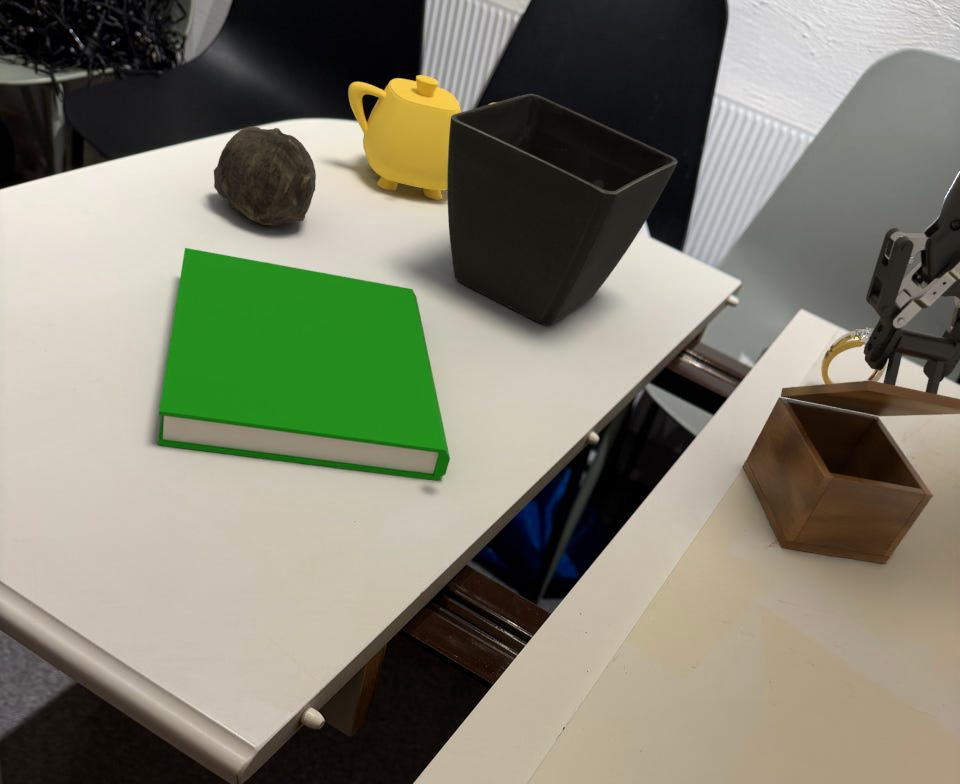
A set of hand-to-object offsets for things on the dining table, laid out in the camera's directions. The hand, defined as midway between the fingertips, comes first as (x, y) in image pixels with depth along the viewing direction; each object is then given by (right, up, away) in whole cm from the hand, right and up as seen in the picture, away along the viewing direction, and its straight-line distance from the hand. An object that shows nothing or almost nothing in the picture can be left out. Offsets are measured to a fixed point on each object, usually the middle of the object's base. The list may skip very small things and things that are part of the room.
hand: (901, 370), depth 81 cm
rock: (-60, +25, +27) cm, 70 cm away
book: (-51, +1, +6) cm, 51 cm away
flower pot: (-30, +17, +31) cm, 46 cm away
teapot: (-44, +37, +46) cm, 74 cm away
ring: (+6, +6, +32) cm, 33 cm away
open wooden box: (-4, -11, +11) cm, 15 cm away
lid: (-1, -2, +3) cm, 4 cm away
